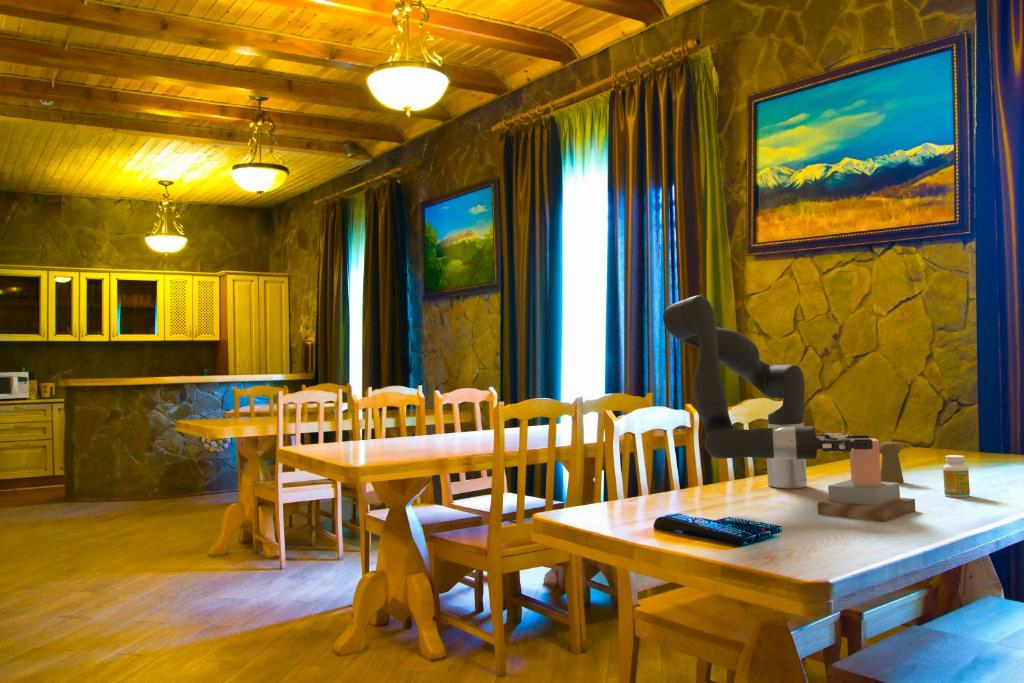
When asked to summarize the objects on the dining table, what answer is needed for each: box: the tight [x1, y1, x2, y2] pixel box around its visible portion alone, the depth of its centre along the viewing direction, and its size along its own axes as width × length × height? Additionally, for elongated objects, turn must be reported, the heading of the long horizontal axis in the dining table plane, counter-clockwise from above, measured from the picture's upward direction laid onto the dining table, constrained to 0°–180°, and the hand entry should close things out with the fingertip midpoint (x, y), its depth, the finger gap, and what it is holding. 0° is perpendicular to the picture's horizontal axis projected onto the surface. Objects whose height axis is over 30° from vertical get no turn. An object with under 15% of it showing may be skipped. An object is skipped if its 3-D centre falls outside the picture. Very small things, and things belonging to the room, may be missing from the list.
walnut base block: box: [817, 497, 916, 523], centre depth 181 cm, size 15×15×4 cm
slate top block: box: [827, 479, 901, 506], centre depth 181 cm, size 11×11×4 cm
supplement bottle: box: [942, 454, 971, 499], centre depth 195 cm, size 5×5×10 cm
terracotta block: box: [849, 437, 881, 486], centre depth 181 cm, size 6×6×10 cm
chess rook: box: [879, 441, 905, 485], centre depth 219 cm, size 6×6×11 cm
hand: (870, 441), depth 181 cm, fingers open, 8 cm apart
